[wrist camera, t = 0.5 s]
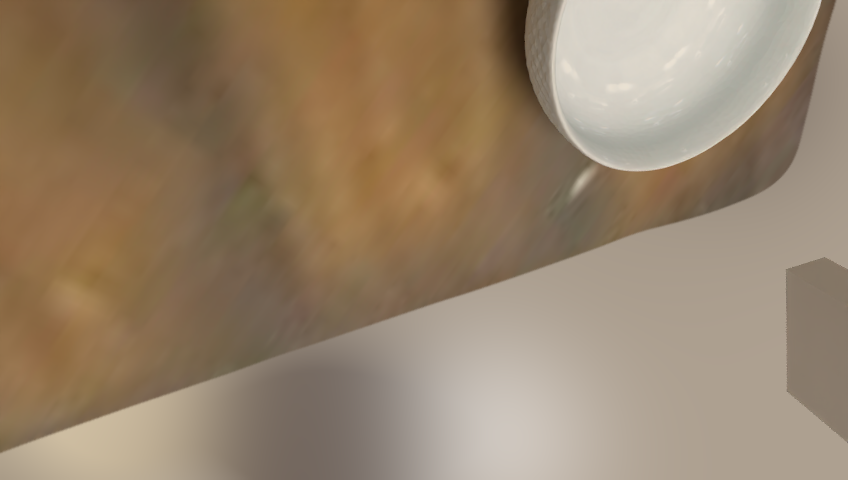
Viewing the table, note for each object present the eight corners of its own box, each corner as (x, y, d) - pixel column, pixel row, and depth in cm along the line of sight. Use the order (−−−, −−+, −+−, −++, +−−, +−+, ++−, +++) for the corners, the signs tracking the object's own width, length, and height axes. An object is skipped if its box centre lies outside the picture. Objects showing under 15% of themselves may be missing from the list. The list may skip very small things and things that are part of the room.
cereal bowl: (750, 37, 45) (832, 79, 40) (538, 163, 46) (592, 221, 40) (729, -243, 34) (840, -235, 29) (447, -73, 34) (505, -35, 29)
